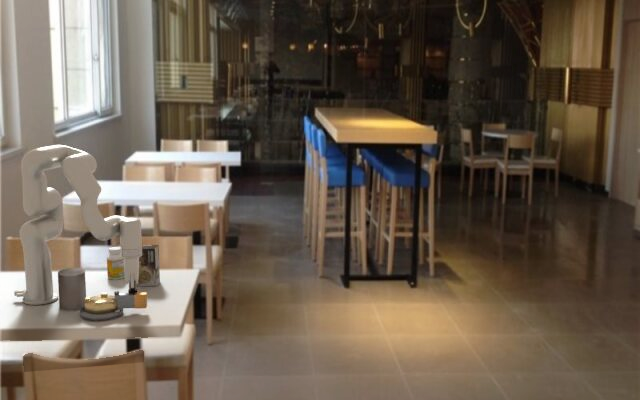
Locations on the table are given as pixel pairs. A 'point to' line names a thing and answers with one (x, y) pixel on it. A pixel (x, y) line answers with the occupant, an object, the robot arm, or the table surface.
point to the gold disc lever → (114, 302)
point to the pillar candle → (71, 288)
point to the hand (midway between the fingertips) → (133, 300)
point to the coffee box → (149, 266)
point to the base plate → (101, 315)
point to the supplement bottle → (115, 264)
